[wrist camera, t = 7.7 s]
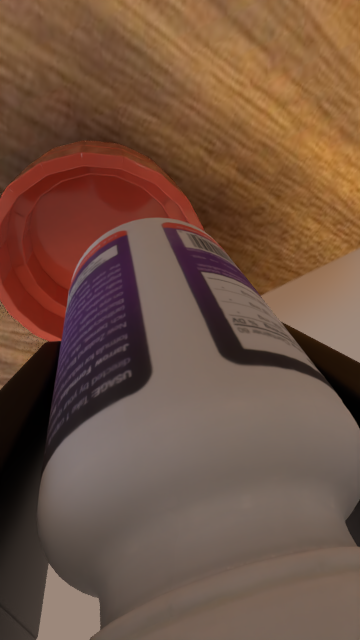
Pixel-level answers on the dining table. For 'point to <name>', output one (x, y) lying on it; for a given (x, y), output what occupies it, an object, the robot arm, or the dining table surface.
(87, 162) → the red bowl
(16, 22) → the dining table surface
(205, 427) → the pill bottle
